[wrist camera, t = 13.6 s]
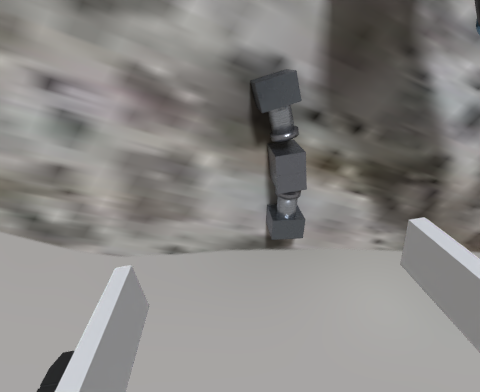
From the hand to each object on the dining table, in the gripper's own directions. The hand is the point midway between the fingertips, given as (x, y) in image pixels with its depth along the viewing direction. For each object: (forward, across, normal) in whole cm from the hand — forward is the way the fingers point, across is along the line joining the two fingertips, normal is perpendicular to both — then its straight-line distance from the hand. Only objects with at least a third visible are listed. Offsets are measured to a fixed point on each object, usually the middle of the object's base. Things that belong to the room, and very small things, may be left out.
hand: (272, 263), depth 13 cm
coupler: (+29, +6, -6) cm, 30 cm away
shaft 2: (+29, +6, -13) cm, 32 cm away
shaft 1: (+29, +6, +2) cm, 29 cm away
